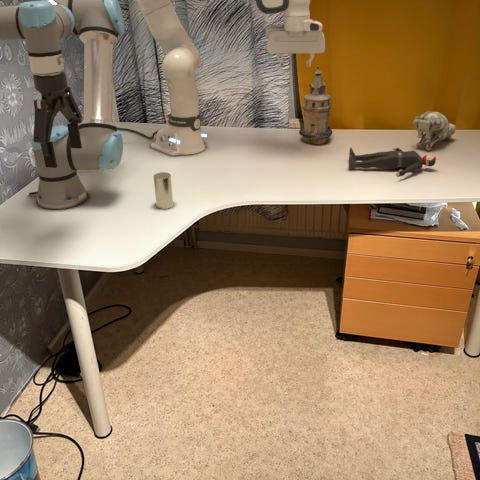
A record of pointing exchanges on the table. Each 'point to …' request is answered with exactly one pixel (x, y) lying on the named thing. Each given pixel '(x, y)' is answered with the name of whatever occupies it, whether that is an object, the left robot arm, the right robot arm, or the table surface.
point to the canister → (163, 190)
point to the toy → (391, 160)
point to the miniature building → (316, 112)
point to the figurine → (432, 128)
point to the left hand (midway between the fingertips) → (64, 157)
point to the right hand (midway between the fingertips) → (294, 66)
